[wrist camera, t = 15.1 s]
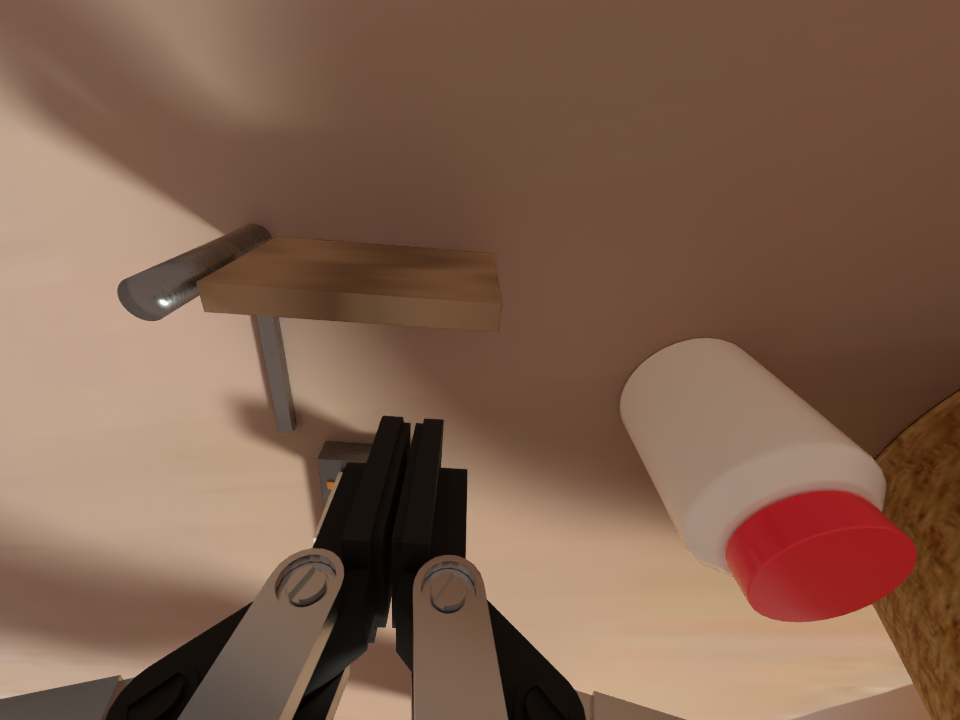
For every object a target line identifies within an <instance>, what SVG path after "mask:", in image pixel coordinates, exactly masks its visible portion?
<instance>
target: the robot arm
mask: <svg viewBox="0 0 960 720" xmlns="http://www.w3.org/2000/svg"><path fill="white" fill-rule="evenodd" d="M443 424H444V420H439V419H424V422H423V424H420V423H416V425H415V430H414V435H413V440H412V444H411V449H410V429H411V426H410V423H405V422H404V419H403V417H394V416H383V417H382V419H381V422H380V425H379V428H378V431H377V434H376V436H375V439H374V442H373V445H372V448H371V451H370V454H369V457H368V460H367V463H356V462H348V463H347V465H346V467H345V469H344V471H343V473H342V476H341V478H340V481H339V483H338V486H337V488H336V491H335V493H334V496H333V498H332V501H331V503H330V506H329V508H328V511H327V513H326V516H325V518H324V521H323V523H322V526H321V528H320V531H319V533H318V535H317V538H316V540H315V543H314V545H313V548H311V549H307V550H302V551H299V552H297V553H295V554H293V555H291V556H289V557H288V558H286V559H285V560H284V561H283V562H281V563H280V564H279V565H278V566H277V568H276V569H275V570H274V571H273V572H272V574H271V575H270V577H269V578H268V580H267V581H266V583H265V585H264V586H263V588H262V589H261V591H260V592H259V594H258V595H257V597H256V598H255V600H254V601H253V602H252V603H250V604H248V605H247V606H245V607H244V608H242V609H240V610H239V611H237V612H236V613H234V614H232V615H231V616H229V617H228V618H226V619H224V620H223V621H221V622H220V623H218V624H216V625H215V626H213V627H212V628H210V629H208V630H207V631H205V632H204V633H202V634H200V635H199V636H197V637H196V638H194V639H193V640H191V641H189V642H188V643H186V644H185V645H183V646H181V647H180V648H178V649H177V650H175V651H173V652H172V653H170V654H169V655H167V656H165V657H164V658H162V659H161V660H159V661H157V662H156V663H154V664H153V665H151V666H149V667H148V668H147V669H145V670H144V671H143V672H141V673H140V674H139V675H138V676H136V677H135V678H130V679H125V680H123V678H122V677H121V675H118V676H113V677H108V678H103V679H98V680H93V681H88V682H83V683H78V684H73V685H69V686H64V687H59V688H54V689H49V690H44V691H39V692H34V693H29V694H24V695H19V696H14V697H9V698H4V699H0V720H333V718H334V715H335V713H336V710H337V707H338V705H339V702H340V699H341V697H342V694H343V691H344V689H345V686H346V683H347V680H348V678H349V675H350V672H351V667H352V663H353V661H355V660H356V659H357V658H358V657H359V656H361V655H362V654H363V653H364V652H365V651H366V650H367V647H368V643H374V641H375V636H376V631H377V627H383V628H385V627H386V623H387V618H388V613H389V608H390V602H391V597H392V628H396V652H397V653H398V654H399V656H400V657H401V658H402V660H403V661H404V663H405V664H406V665H407V667H408V668H409V669H410V671H411V720H685V719H682V718H679V717H676V716H673V715H669V714H666V713H663V712H660V711H657V710H653V709H650V708H647V707H644V706H641V705H637V704H634V703H631V702H628V701H625V700H621V699H618V698H615V697H612V696H609V695H605V694H602V693H599V692H596V691H594V692H593V694H592V695H589V694H586V693H583V692H580V691H576V690H574V688H573V687H572V686H571V684H570V683H569V682H568V681H567V680H566V679H565V678H564V677H563V676H562V675H561V674H560V673H559V672H558V671H557V670H556V669H555V668H554V667H553V666H552V665H551V664H550V663H549V662H548V661H547V660H546V659H545V658H544V657H543V656H542V655H541V654H540V653H539V652H538V651H537V650H536V649H535V647H534V646H533V645H532V644H531V643H530V642H529V641H528V640H527V639H526V638H525V637H524V636H523V635H522V634H521V633H520V632H519V631H518V630H517V629H516V628H515V627H514V626H513V625H512V624H511V623H510V622H509V621H508V620H507V619H506V618H505V617H504V616H503V615H502V614H501V613H500V612H499V611H498V610H497V609H496V608H495V607H494V606H493V605H492V604H491V603H490V602H489V601H488V600H487V598H486V592H485V586H484V582H483V579H482V576H481V573H480V572H479V571H478V569H477V568H476V567H475V565H474V564H472V563H471V562H470V561H468V560H467V559H465V556H466V513H467V469H453V468H441V457H442V441H443Z"/></svg>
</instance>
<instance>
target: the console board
mask: <svg viewBox="0 0 960 720" xmlns="http://www.w3.org/2000/svg"><path fill="white" fill-rule="evenodd" d="M372 445H373V444H357V443H340V442H325V444H324V446H323V449H322V451H321V453H320V455H319V457H318V465H319V473H320V480H321V487H322V494H323V501H324V508H325V506H326V503H327V501H328V498H329V496H330V493H331V491H332V488H333V485H334V483H335V480H336V478H337V475H338V473H339V472H343V471H344V469H345V467H346V465H347V463H348V462H356V463H367V460H368V457H369V454H370V451H371V448H372ZM410 449H411V447H410Z"/></svg>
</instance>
